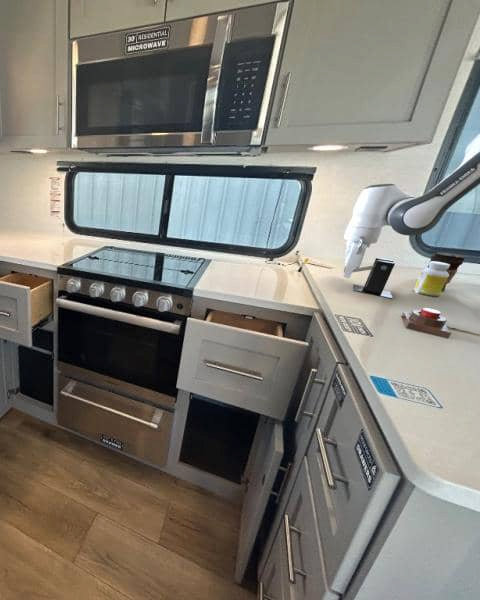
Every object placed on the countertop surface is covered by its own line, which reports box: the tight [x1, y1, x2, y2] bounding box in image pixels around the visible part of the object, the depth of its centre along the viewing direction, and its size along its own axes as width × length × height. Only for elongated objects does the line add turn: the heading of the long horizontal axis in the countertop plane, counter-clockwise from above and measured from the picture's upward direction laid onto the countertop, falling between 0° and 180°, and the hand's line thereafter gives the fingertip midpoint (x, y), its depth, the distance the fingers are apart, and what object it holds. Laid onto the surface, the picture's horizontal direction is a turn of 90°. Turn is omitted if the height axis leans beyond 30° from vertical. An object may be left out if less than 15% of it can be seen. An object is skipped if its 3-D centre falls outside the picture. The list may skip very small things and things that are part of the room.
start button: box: [420, 307, 442, 319], centre depth 87 cm, size 4×4×2 cm
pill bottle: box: [412, 261, 450, 298], centre depth 110 cm, size 6×6×12 cm
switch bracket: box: [352, 257, 396, 300], centre depth 109 cm, size 10×8×12 cm
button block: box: [400, 309, 452, 339], centre depth 88 cm, size 10×8×4 cm
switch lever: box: [352, 261, 388, 273], centre depth 110 cm, size 11×5×2 cm, turn 53°
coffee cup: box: [427, 252, 465, 292], centre depth 118 cm, size 9×8×13 cm
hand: (346, 275), depth 114 cm, fingers closed on switch lever, 5 cm apart
